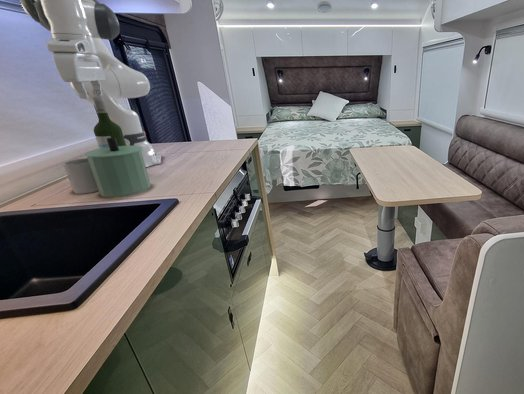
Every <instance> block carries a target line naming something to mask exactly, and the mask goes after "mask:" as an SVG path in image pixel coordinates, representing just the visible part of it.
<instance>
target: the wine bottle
mask: <svg viewBox="0 0 524 394" xmlns="http://www.w3.org/2000/svg"><path fill="white" fill-rule="evenodd" d="M93 101H94V103H95V105H94V106H95V110H96V114H97V117H98V122H97V123H96V124H95V126H94V127H93V134H94V137H95V140H96V143H97V146H98V149H101V148H107V147H109V146H108V143H107V140H106V139H107V138H116V141H117V144H118V146H126V143H125V139H124V136H123V133H122V129H121V128H120V126H119V125H117V124H116V123H114V122H112V121H111V120H110V118H109V115H108V112H107V110H106V107H105V104H104V100H103V98H102V96H96V97H93Z"/></svg>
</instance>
